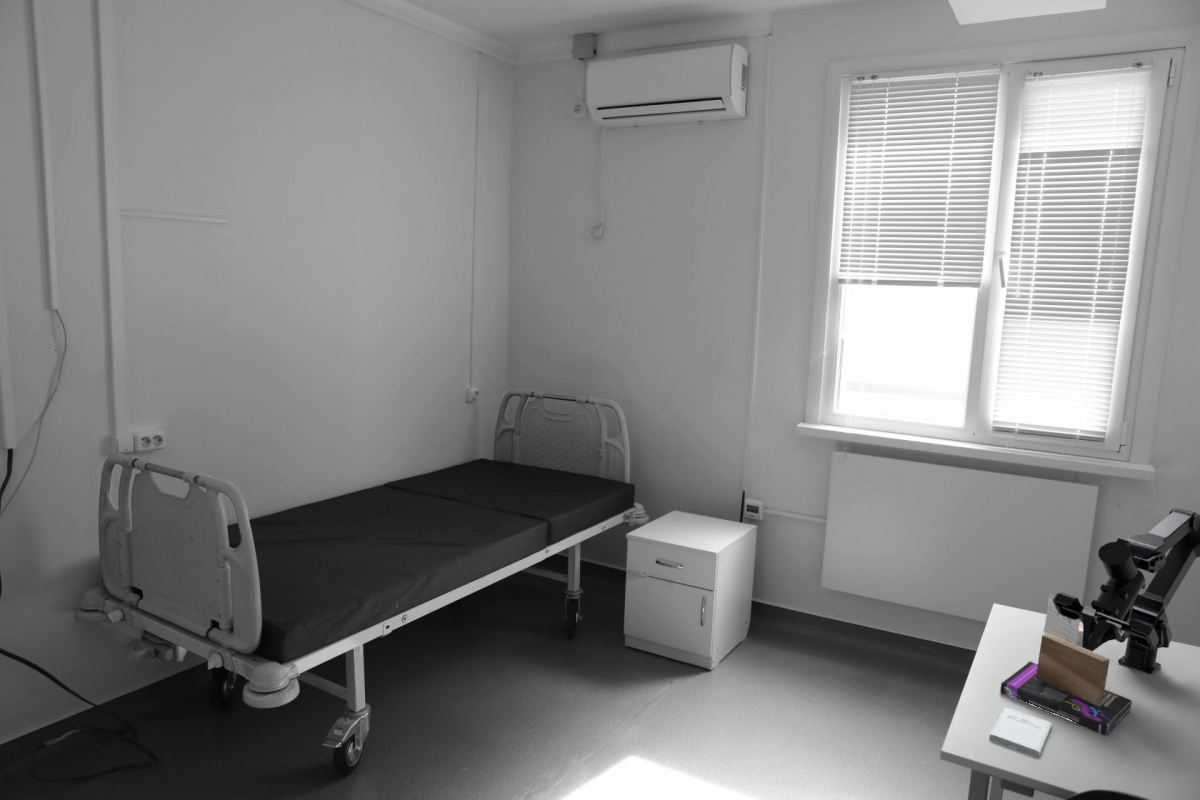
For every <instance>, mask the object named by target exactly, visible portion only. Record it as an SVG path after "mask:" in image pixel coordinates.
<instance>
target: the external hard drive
mask: <svg viewBox="0 0 1200 800" xmlns="http://www.w3.org/2000/svg"><path fill="white" fill-rule="evenodd" d="M1052 724H1053V723H1052V722H1051V721H1048V720H1046V719H1043V718H1039V717H1036V716H1033V715H1030V714H1028V713H1026V712H1025V713H1024V712H1022V711H1018V710H1016V709H1012V708H1009V707H1004V709H1003V711H1002V712H1001V714H1000V716H999V718H998V719H997V721H996V723H995V725H994V727H993V728H992V730H991V732H990V734H989V740H992V741H993V742H996V741H997V742H996V743H1000V744H1003V745H1005V744H1006V745H1005V746H1007V745H1010V746H1012V747H1011V748H1013V747H1015V748H1014V749H1016V748H1017V749H1016V750H1019V751H1021V750H1023V751H1022V752H1024V753H1027V752H1028V753H1027V754H1029V755H1030V754H1031V755H1033V754H1034V755H1033V756H1035V755H1037V756H1036V757H1038V756H1039V757H1040V756H1041V754H1040V753H1042V751H1043V749H1042V748H1044V747H1045V743H1046V742H1045V741H1047V740H1048V736H1049V734H1050V732H1051V730H1052V727H1051V726H1052ZM1050 729H1051V730H1050ZM1049 731H1050V732H1049ZM1010 746H1009V747H1010Z"/></svg>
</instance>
